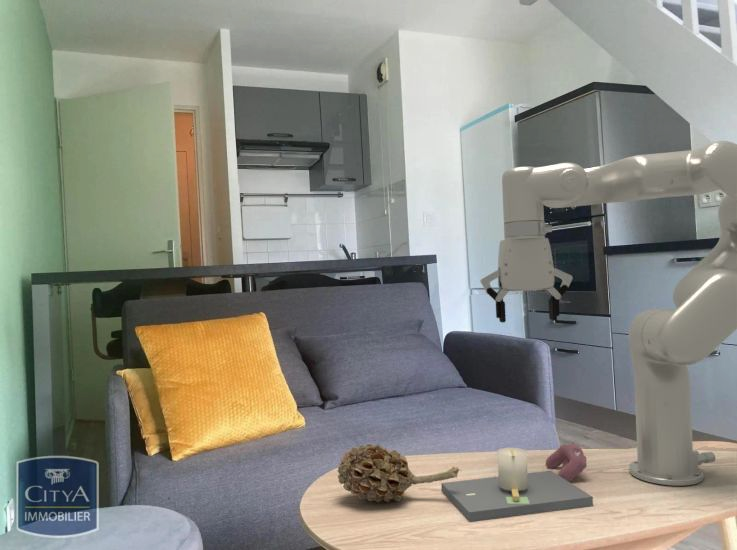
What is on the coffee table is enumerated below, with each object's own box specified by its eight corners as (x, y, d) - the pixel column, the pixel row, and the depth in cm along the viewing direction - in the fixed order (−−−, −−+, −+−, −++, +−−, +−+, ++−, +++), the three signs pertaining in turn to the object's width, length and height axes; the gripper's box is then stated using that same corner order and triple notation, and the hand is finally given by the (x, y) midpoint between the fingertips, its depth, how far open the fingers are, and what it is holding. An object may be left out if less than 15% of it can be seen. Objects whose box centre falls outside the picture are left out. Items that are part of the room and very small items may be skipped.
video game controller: (578, 491, 109) (594, 457, 109) (556, 481, 110) (572, 447, 109) (563, 474, 119) (577, 442, 119) (542, 464, 119) (557, 433, 119)
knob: (498, 483, 106) (496, 446, 106) (526, 484, 106) (525, 447, 106) (501, 501, 98) (499, 461, 98) (531, 502, 97) (530, 462, 97)
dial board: (551, 478, 113) (550, 470, 113) (593, 505, 99) (592, 496, 99) (441, 491, 108) (441, 482, 108) (469, 521, 94) (469, 511, 94)
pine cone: (336, 513, 100) (334, 455, 100) (340, 492, 110) (338, 439, 110) (466, 509, 100) (463, 450, 100) (458, 488, 109) (456, 435, 109)
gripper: (564, 231, 116) (568, 318, 116) (476, 235, 117) (480, 321, 117) (575, 228, 109) (579, 320, 109) (481, 232, 110) (485, 324, 110)
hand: (527, 320), depth 113 cm, fingers open, 9 cm apart
